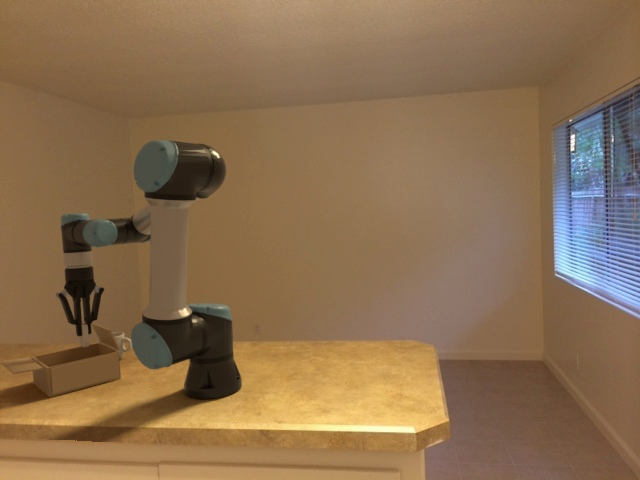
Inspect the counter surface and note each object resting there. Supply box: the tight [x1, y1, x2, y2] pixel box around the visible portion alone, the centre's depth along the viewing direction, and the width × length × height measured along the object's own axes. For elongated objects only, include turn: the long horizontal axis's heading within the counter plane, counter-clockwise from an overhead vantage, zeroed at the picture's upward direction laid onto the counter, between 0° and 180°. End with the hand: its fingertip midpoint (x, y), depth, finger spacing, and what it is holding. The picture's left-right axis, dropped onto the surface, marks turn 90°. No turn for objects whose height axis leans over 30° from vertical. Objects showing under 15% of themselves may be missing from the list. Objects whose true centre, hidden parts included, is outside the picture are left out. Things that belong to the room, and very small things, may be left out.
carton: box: [30, 342, 122, 398], centre depth 144 cm, size 17×19×8 cm
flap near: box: [0, 356, 43, 375], centre depth 134 cm, size 15×1×7 cm
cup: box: [98, 331, 133, 359], centre depth 166 cm, size 11×8×8 cm
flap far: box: [91, 322, 120, 350], centre depth 150 cm, size 15×1×7 cm, turn 43°
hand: (84, 346), depth 146 cm, fingers closed
